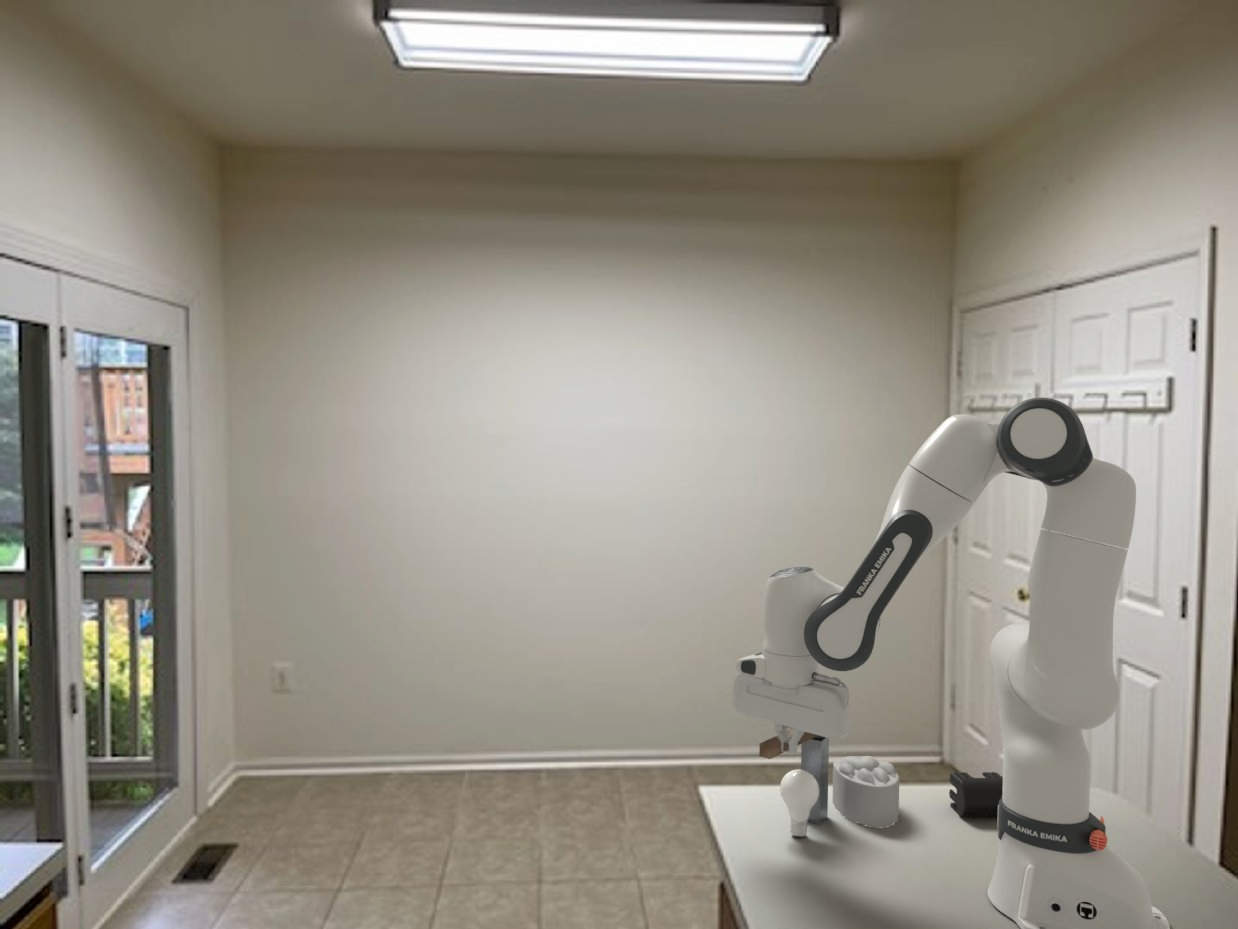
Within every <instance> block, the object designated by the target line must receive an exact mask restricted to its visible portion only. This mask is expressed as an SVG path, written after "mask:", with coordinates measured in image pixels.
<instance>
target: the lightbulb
mask: <svg viewBox="0 0 1238 929" xmlns="http://www.w3.org/2000/svg"><path fill="white" fill-rule="evenodd" d="M779 791H780V797H781V798H782V800H783V802H784V804H785V805H786V808H787V810H788V815H789V817H790V833H791V834H792V835H793V836H795V837H797V838H802V837H805V836H807V835H808V821H807V819H808V818H809V814H810V811H811V809H812V807H813V806H814V805H815V803H816V802H817V800H818V797H819V786H818V783H817V781H816V779H815V778H814V777H813V775H811V774H810V773H809V772H807V771H805V770H801V768H800V769H799V768H798V769H792V770H790V771H788V772H787V773H786V774H784V776H783V777H782V779H781V781H780V786H779Z"/></svg>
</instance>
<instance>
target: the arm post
mask: <svg viewBox="0 0 1238 929" xmlns="http://www.w3.org/2000/svg"><path fill="white" fill-rule="evenodd" d="M800 745H801V746H800V747H801V748H800V750H801V754H800V756H801V757H800V770H805V771H807V772H809V773H810V774H811V775H813V777H814V778H815V779H816V781H817V783H818V786H819V797H818V800H817V802H816V803H815V805H814V806H813V807H812V809H811V811H810V814H809V818H808V819H807V822H810V823H813V822H814V824H816V823H817V825H821V824H822V823H823V822H824V821H825V820H826V819H827V818H828V813H829V812H828V811H829V810H828V808H829V803H828V802H829V801H828V800H829V764H830V762H829V759H830V758H829V756H830V755H829V752H830V738H826V737H824V738H812V739H810V740H808V741H806V742H804V743H802V744H800ZM826 817H827V818H826ZM821 822H822V823H821Z"/></svg>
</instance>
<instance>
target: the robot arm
mask: <svg viewBox="0 0 1238 929" xmlns="http://www.w3.org/2000/svg"><path fill="white" fill-rule="evenodd" d="M1002 473H1006V474H1011V475H1014V476H1019V477H1022V478H1026V479H1030V480H1034V481H1039V482H1040V483H1042V485H1044V487H1045V489H1046V490H1045V491H1046V495H1047V496H1046V498H1047V499H1046V507H1045V511H1044V516H1043V519H1042V522H1041V523H1042V524H1041V526H1040V529H1039V534H1038V539H1037V543H1036V545H1035V549H1034V553H1033V557H1032V561H1031V564H1030V569H1029V572H1028V576H1027V589H1028V595H1029V621H1028V622H1016V623H1011V624H1008V625H1006V626H1005V627H1003V628H1001V629H1000V630H999V631H998V632H997V633H996V634H995V636H994V637H993V638H992V640H991V642H990V647H989V658H990V662H991V666H992V670H993V674H994V684H995V694H996V703H997V710H998V716H999V717H998V718H999V722H1000V729H1001V730H1000V732H1001V740H1002V777H1003V788H1002V796H1001V799H1000V800H999V805H998V815H997V816H996V818H997V820H996V822H997V823H996V824H997V826H996V827H997V829H996V830H997V833H998V834H997V836H998V839H999V843H998V848H997V850H998V851H997V855H996V861H995V866H994V869H993V873H992V877H991V879H990V883H989V885H988V888H987V894H986V895H987V897H988V899H989V901H990V902H991V904H992V905H993V906H994V907H995V908H996V909H997V910H998V911H1000V912H1001V913H1002V914H1004V915H1005V916H1006V917H1008V918H1010V919H1011V920H1013V921H1014V922H1015V923H1016V925H1017V926H1018V927H1019V928H1020V929H1171V925H1170V923H1169V921H1168V919H1167V917H1166V916H1165V915H1164V913H1163V912H1162V911H1161V910H1159V909H1158V908H1157V907H1155V906H1153V904H1152V900H1151V896H1150V893H1149V892H1150V891H1149V889H1148V886H1147V884H1146V881H1145V879H1144V878H1143V876H1142V875H1141V874H1140V872H1139V871H1137V870H1136V869H1135V868H1134V867H1132V866H1131V865H1130V864H1129V863H1128V862H1126V860H1124V859H1123V858H1122V857H1121V856H1119V855H1118V854H1117V853H1116V851H1114V850H1113V849H1112V848H1111V847H1109V846H1108V844H1107V843H1108V837H1107V832H1106V830H1107V829H1106V825H1105V819H1104V817H1103V816H1100V819H1099V818H1098V817H1096V815H1094V814H1093V813H1092V812H1090V796H1091V795H1090V792H1091V790H1090V789H1091V759H1090V758H1091V757H1090V752H1089V750H1088V748H1087V746H1086V742H1085V739H1084V735H1083V730H1091V729H1094V728H1098V727H1099V726H1102V725H1103V724H1104V723H1106V722H1107V721H1108V720H1110V718H1112V716H1113V715H1114V713H1115V711H1116V710H1117V708H1118V705H1119V700H1120V687H1119V684H1118V681H1117V679H1116V675H1115V671H1114V663H1113V662H1114V661H1113V660H1114V659H1113V657H1114V656H1113V651H1114V650H1113V649H1114V648H1113V646H1114V642H1113V639H1114V637H1113V636H1114V633H1113V632H1114V614H1115V613H1114V612H1115V604H1116V598H1117V595H1118V590H1119V586H1120V584H1121V583H1120V582H1121V579H1122V575H1123V571H1124V567H1125V563H1126V559H1127V555H1128V553H1129V552H1128V551H1129V550H1128V549H1129V547H1130V543H1131V539H1132V533H1133V530H1134V529H1133V528H1134V524H1135V516H1136V504H1137V503H1136V502H1137V485H1136V482H1135V480H1134V478H1133V476H1132V475H1131V474H1130V473H1129V472H1127V471H1126V470H1125V469H1123V468H1122V467H1120V466H1118V465H1116V464H1114V463H1111V462H1107V461H1105V460H1104V461H1103V460H1099V459H1097V458H1095V457H1094V455H1093V451H1092V449H1091V446H1090V443H1089V440H1088V438H1087V434H1086V431H1085V428H1084V425H1083V422H1082V420H1081V419H1080V417H1079V416H1078V415H1077V413H1076V412H1075V411H1074V409H1073V408H1071V407H1070V406H1069V405H1067V404H1066V403H1065V402H1062V401H1060V400H1057V399H1054V398H1050V397H1034V398H1033V397H1032V398H1028V399H1025V400H1023V401H1020V402H1019V403H1017V404H1015V405H1013V406H1012V407H1011V408H1010V409H1009V410H1008V411H1006V413H1004V415H1003V417H1002V419H1001V421H1000V422H995V423H993V422H989V421H986V420H984V419H983V418H980V417H978V416H975V415H973V414H966V413H960V414H953V415H951V416H949V417H948V418H946V419H945V420H944V421H943V422H942V423H941V424H940V425H939V426H938V427H937V428H936V429H934V431H933V432H932V433H931V434H930V435H929V437H928V438H927V439H926V440H925V441H924V442H923V444H922V445H921V446H920V447H919V449H918V450H917V452H916V453H915V454H914V455H913V457H912V458H911V460H910V461H909V462H908V464H907V465H906V467H905V469H904V470H903V472H902V473H901V475H900V477H899V479H898V480H897V482H896V485H895V486H894V489H893V492H892V493H891V495H890V498H889V501H888V503H887V506H886V510H885V513H884V516H883V519H882V523H881V526H880V528H879V531H878V534H877V536H876V538H875V540H874V542H873V544H872V546H871V548H870V550H869V551H868V553H867V554H866V555H865V557H864V558H863V560H862V562H861V563H860V565H859V566H858V568H857V569H856V571H855V572H854V574H852V576H851V578H850V579H849V581H848V582H847V584H846V585H845V587H844V586H841V585H840V584H837V583H834V582H833V581H831V580H829V579H827V578H826V577H824V576H822V575H821V574H820V573H819V572H817V570H815V568H812V567H809V566H796V567H795V566H793V567H788V568H784V569H780V570H778V571H776V572H774V573H772V574H771V575H770V576H769V577H768V579H767V580H766V584H765V589H764V596H763V597H764V598H763V608H762V609H763V611H762V616H763V617H762V621H763V622H762V623H763V627H764V631H765V636H764V640H763V643H762V652H758V653H755V654H749V655H747V656H744V657H742V658H739V659H737V660H736V663H735V668H736V671H737V672H738V673H737V674H736V675H735V677H734V679H733V685H732V686H733V688H732V706H733V708H734V710H735V712H736V713H737V714H740V715H743V716H747V717H751V718H755V719H758V720H761V721H765V722H769V723H772V724H774V731H775V732H776V736H777V735H778V737H779V740H780V741H781V751H782V752H784V753H785V754H787V755H788V754H789V755H791V756H792V755H796V754H797V752H798V746H799V745H798V741H799V740H800V738H801V737H802V735H803V734H804V731H805V732H808V733H812V734H815V735H819V736H823V737H826V738H829V740H835V741H838V740H841V739H842V738H845V737H846V736H847V735H849V733H850V731H851V713H850V706H849V701H850V689H849V687H848V686H847V685H846V684H845V683H844V682H843V681H842V680H841V678H839V677H835V676H828V675H827V674H823V673H822V674H821V673H819V665H821V666H822V667H824V668H826V669H828V670H831V671H836V672H849V671H853V670H856V669H858V668H860V667H861V666H863V665H864V664H866V662H867V661H868V660H869V658H870V657H871V655H872V653H873V650H874V647H875V641H876V638H877V635H878V633H879V629H880V626H881V616H882V615H883V613H884V611H885V610H886V608H887V607H888V605H889V603H890V602H891V601H892V599H893V598H894V597H895V594H896V593H897V591H898V590H899V588H900V587H901V586H902V584H903V583H904V581H905V580H906V578H907V577H908V575H909V574H910V572H912V570H913V568H914V567H916V565H917V564H918V563H919V562H920V561H921V559H923V558H924V557H925V556H926V555H927V554H928V553H930V552H931V551H932V550H933V549H934V548H935V547H936V546H937V545H938V544H940V543H941V541H943V540H944V539H945V538H946V537H947V536H948V535H950V533H951V532H952V531H953V530H955V528H956V527H957V526H958V525H959V524H960V523H961V522H962V520H963V519H964V518H965V517H966V515H968V513H969V512H970V510H971V509H972V508H973V506H974V505H975V503H976V502H977V500H978V499H979V497H980V496H981V494H982V493H983V491H984V490H985V489H986V488H987V486H988V485H989V483H991V481H992V480H994V478H995V477H997V476H998V475H999V474H1002ZM787 729H788V730H790V734H793V736H792V737H791V739H790V737H789V735H788V732H787V731H788V730H787ZM797 745H798V746H797Z"/></svg>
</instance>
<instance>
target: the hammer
mask: <svg viewBox="0 0 1238 929" xmlns="http://www.w3.org/2000/svg"><path fill="white" fill-rule="evenodd" d="M787 732H788V735H789V737H790V739H791V737H792V736H793V734H790V729H788V730H787ZM812 738H824V737H823V736H819V735H815V734H812V733H808V732H805V731H804V734H803V735H802V737H801V738H800V740H799V741H798V745H797V747H799V745H801V744H802V743H804V742H806V741H808V740H810V739H812ZM758 753H759V754H758V755H759V757H762V758H765V759H768V760H771V759H773V758H775V757H778V756H779V755H781V754H783V753H785V752H782V751H781V741H780V740H779V737H778V735H777V734H776V736H773V737H771V738H769V739H767V740H765V741H762V742H760V743H759V752H758Z"/></svg>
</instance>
